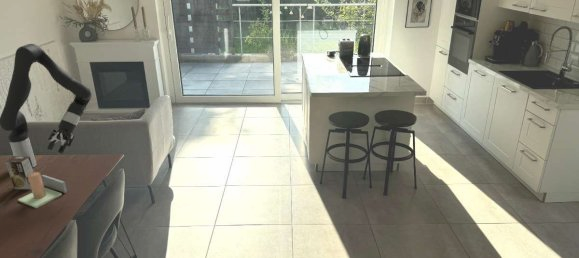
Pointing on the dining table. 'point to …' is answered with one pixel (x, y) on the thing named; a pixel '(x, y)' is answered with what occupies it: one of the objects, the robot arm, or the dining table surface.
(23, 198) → the pad
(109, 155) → the dining table surface
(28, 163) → the coffee box
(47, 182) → the low wall
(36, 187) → the peach rounded cylinder
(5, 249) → the dining table surface
